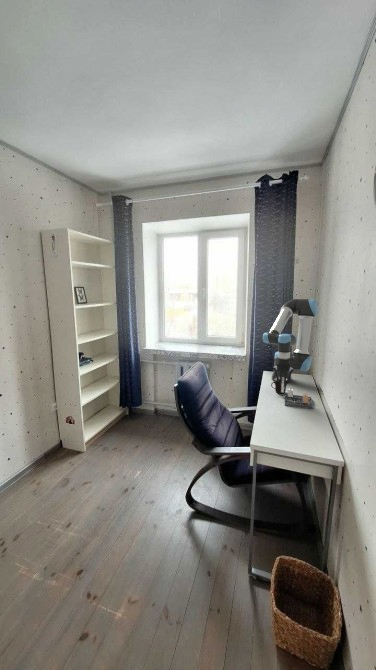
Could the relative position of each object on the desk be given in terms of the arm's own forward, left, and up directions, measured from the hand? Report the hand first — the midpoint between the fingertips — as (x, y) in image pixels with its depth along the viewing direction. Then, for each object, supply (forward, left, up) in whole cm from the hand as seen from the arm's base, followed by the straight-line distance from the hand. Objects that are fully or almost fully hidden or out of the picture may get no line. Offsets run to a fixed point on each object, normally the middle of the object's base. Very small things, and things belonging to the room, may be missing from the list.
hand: (282, 391), depth 182 cm
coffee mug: (-10, -3, -5) cm, 11 cm away
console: (+3, +10, -5) cm, 12 cm away
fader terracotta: (+7, +14, -3) cm, 16 cm away
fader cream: (0, +5, -3) cm, 5 cm away
